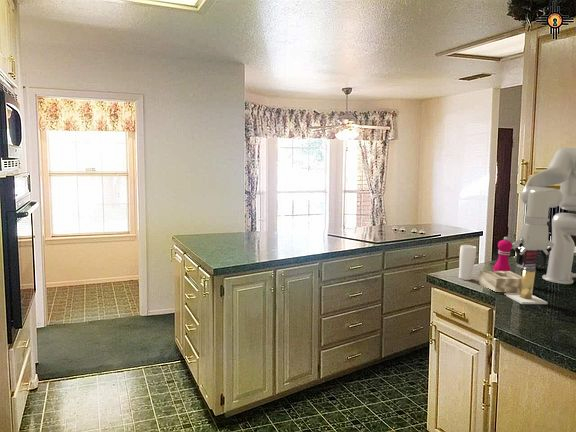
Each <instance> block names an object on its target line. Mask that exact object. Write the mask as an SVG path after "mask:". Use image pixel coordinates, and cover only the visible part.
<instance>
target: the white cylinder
mask: <svg viewBox="0 0 576 432" xmlns="http://www.w3.org/2000/svg"><path fill="white" fill-rule="evenodd" d="M476 256H477V246H476V245H475V246H474V245H471V244H460V247H459V265H458V266H459V267H458V268H459V269H458V278H459V279H460V280H463V281H471V279H472V276H473V270H474V267H475V262H476Z"/></svg>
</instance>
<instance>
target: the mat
mask: <svg viewBox="0 0 576 432" xmlns="http://www.w3.org/2000/svg"><path fill="white" fill-rule="evenodd" d="M503 294H504V296H505V295H506V296H505V297H507V298H510V299H511V300H513V301H515V302H517V303H519V304H521V305H548V303H549V302H548V301H546V300H544V299H542V298H539V297H537V296H536V295H533V294H532V299H524V298H521V297H519V295H520V293H503Z"/></svg>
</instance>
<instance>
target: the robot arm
mask: <svg viewBox="0 0 576 432" xmlns="http://www.w3.org/2000/svg"><path fill="white" fill-rule="evenodd" d="M548 164H549V165H548V166H547V168H546V169H543V170H541V171H539V172H537V173H536V174H533V175H532V176H531V177H529V178H528V179H527V181H526V183H525V185H524V186H523V189H522V191H521V196H520V198H521V201H522V203H524V205H526V213H525V220H524V223H522V226H521V228H520V231H519V233H518V234H519V235H518V239H517V240H516V241H513V242H511V243H512V249H513V250H514V252H515V253H516V259H515V260H516V261H515V263H516V265H517V264H520V265H523V259H524V255H522V254H523V253H524V252H525V251H526V250H538V251H540V252H539V255H538V260H537V262H538V263H539V264H540V265H543V266H545V265H546V262H547V269H546V274H543V275H542V277H541V278H542V279H543V280H545V281H547V282H550V283H555V284H561V285H572V284H573V283H574V279H575V278H576V273H573V272H572V266H573V261H574V253H575V249H576V244H575V242H574V240H573V238H572V236H575V237H576V213H571V212H570V213H569V212H557V213H555V214H554V215H553V216H552V219H551V240H549V226H548V222H550V218H549V211H550V208H557V207H559V208H560V209H562V210H566V211H572V212H576V147H561V148H559V149H557V150H556V151H555V153H554V155H553V157H552V158H551V160H550V162H549V163H548ZM559 184H560V187H559V189H557V188H553V187H552V188H551V187H549V186H555V185H559ZM547 256H548V261H547Z"/></svg>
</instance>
